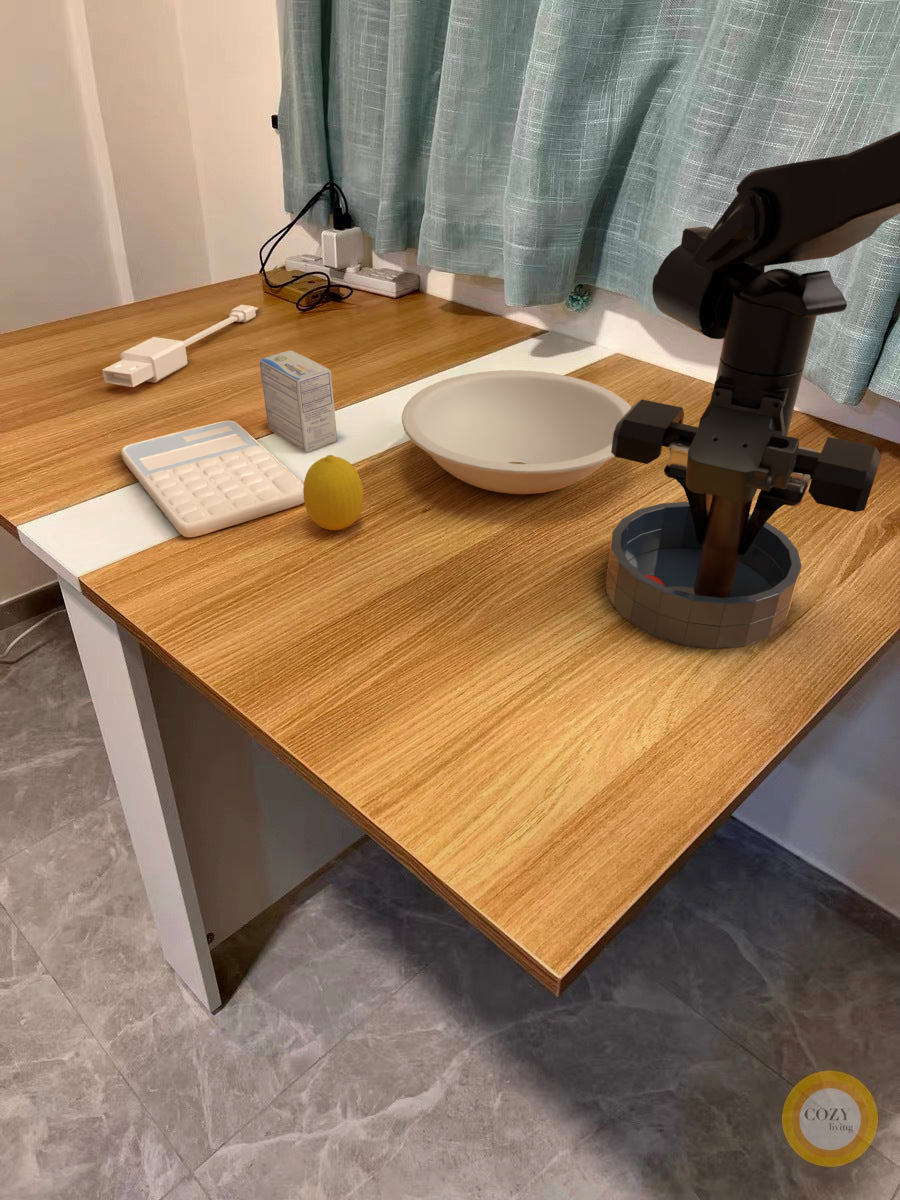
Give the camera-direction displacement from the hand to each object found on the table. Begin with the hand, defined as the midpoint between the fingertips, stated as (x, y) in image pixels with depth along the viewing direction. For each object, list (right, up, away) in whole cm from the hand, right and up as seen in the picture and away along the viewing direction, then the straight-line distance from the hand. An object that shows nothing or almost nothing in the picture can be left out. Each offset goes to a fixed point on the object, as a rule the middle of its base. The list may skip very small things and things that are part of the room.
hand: (721, 547), depth 72 cm
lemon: (-33, +2, +13) cm, 35 cm away
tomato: (-6, -4, +1) cm, 7 cm away
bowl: (-1, -4, +5) cm, 6 cm away
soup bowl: (-15, +9, +23) cm, 29 cm away
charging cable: (-58, +30, +50) cm, 82 cm away
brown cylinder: (0, -4, +3) cm, 4 cm away
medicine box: (-39, +14, +29) cm, 51 cm away
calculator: (-47, +8, +21) cm, 52 cm away
